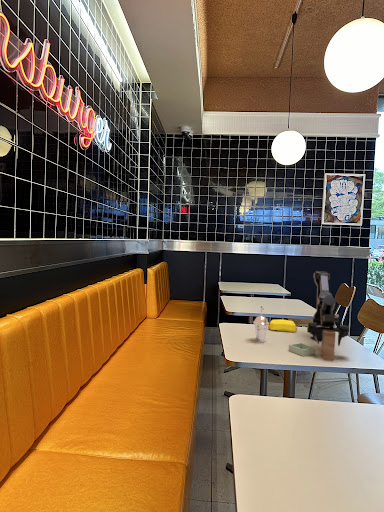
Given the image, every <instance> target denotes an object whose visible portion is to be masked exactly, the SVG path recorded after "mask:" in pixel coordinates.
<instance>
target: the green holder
mask: <svg viewBox="0 0 384 512" xmlns="http://www.w3.org/2000/svg"><path fill="white" fill-rule="evenodd" d="M288 351H289V352H291V353H293V354H296V355H299V356H301V357H306V356H312V355H316V354H317V347H315V346H312V345H309V344H306V343H303V342H297V343H292V344H288Z"/></svg>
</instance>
